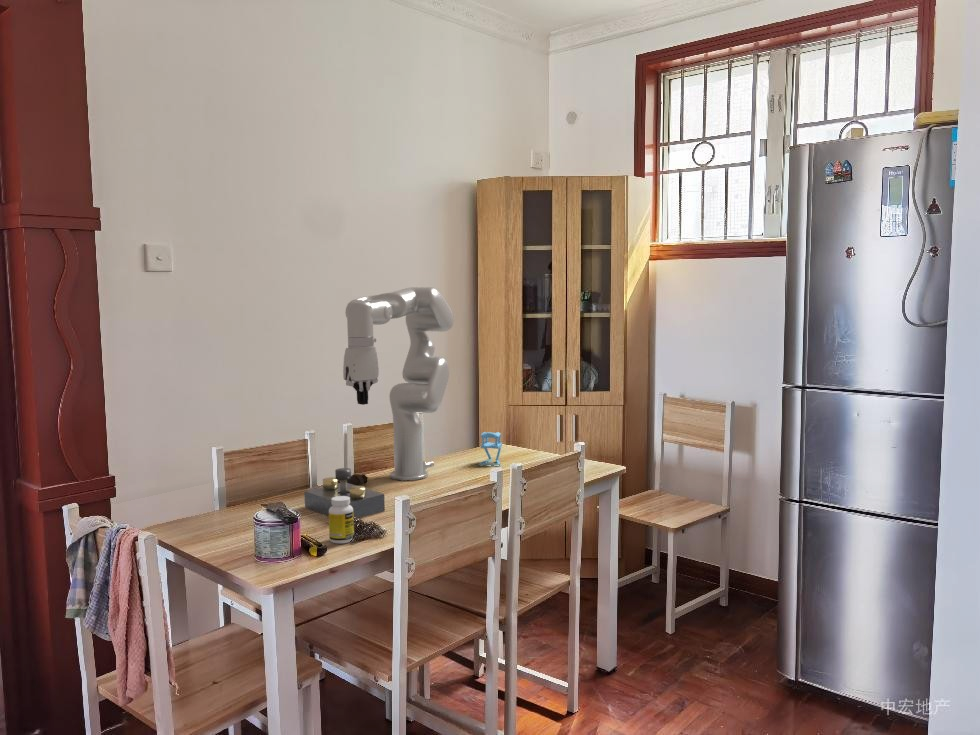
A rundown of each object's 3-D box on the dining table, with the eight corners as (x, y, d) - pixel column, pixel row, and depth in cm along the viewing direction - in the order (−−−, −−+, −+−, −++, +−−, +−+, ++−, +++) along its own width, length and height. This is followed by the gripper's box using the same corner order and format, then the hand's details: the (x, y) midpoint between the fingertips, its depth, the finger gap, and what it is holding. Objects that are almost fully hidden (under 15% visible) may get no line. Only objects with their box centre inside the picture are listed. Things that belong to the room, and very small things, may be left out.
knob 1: (333, 501, 239) (332, 476, 238) (341, 503, 235) (340, 479, 235) (320, 504, 236) (319, 479, 235) (328, 507, 232) (327, 481, 232)
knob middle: (346, 492, 233) (345, 467, 232) (354, 495, 230) (353, 469, 229) (333, 495, 230) (332, 469, 229) (341, 498, 227) (340, 472, 226)
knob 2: (360, 510, 229) (359, 484, 228) (369, 513, 225) (368, 487, 225) (347, 513, 226) (346, 487, 225) (356, 516, 222) (355, 490, 222)
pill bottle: (349, 544, 199) (347, 501, 198) (325, 543, 200) (324, 501, 199) (357, 537, 205) (356, 495, 204) (334, 536, 207) (333, 494, 205)
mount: (345, 498, 242) (344, 482, 242) (384, 511, 228) (384, 494, 228) (305, 507, 233) (304, 490, 232) (343, 521, 219) (342, 504, 218)
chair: (504, 461, 288) (504, 429, 287) (499, 466, 280) (499, 433, 279) (483, 461, 290) (483, 428, 289) (478, 466, 282) (478, 432, 281)
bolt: (366, 490, 258) (338, 500, 245) (355, 481, 260) (326, 491, 247) (374, 476, 257) (345, 485, 243) (362, 467, 259) (333, 475, 245)
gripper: (374, 340, 244) (375, 399, 246) (332, 344, 234) (334, 405, 236) (388, 341, 239) (390, 402, 241) (346, 345, 229) (348, 408, 231)
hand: (362, 403), depth 238 cm, fingers closed
